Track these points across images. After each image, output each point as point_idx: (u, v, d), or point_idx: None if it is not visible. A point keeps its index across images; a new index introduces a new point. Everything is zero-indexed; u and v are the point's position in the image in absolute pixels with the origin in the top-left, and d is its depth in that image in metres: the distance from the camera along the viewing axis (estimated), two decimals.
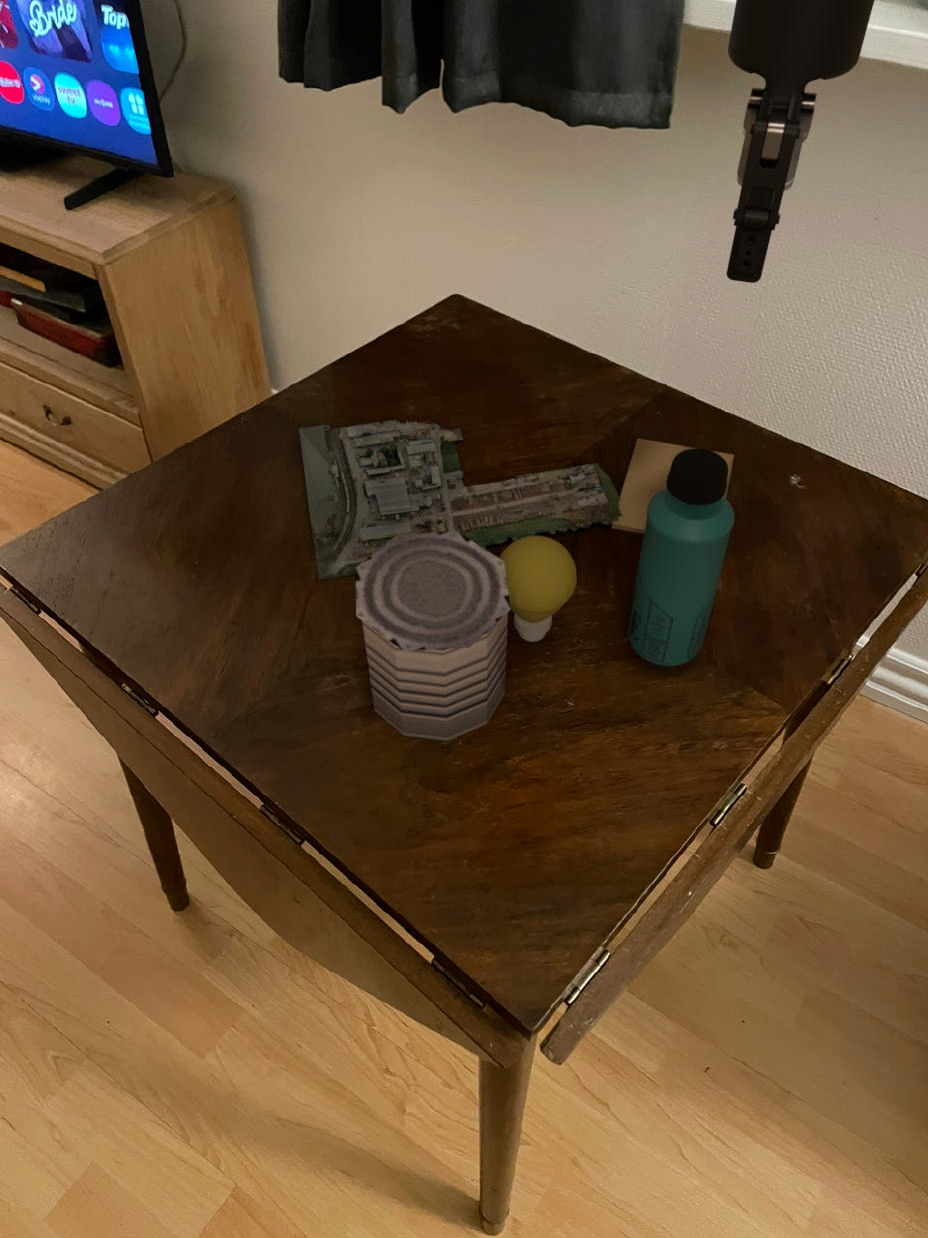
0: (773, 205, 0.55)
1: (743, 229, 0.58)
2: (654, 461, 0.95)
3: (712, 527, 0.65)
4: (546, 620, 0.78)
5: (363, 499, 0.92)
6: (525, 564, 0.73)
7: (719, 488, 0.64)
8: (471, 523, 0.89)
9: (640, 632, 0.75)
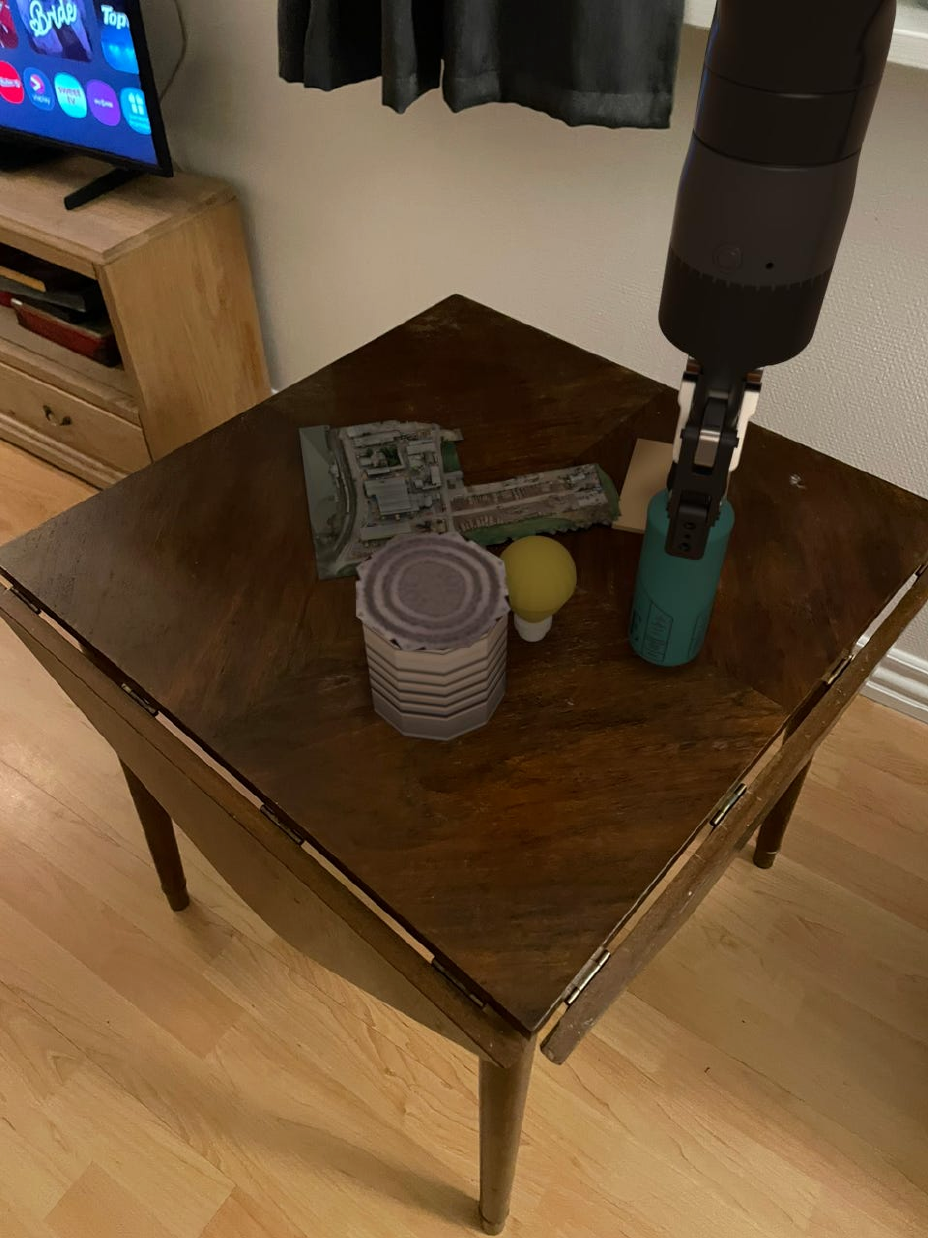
0: (711, 507, 0.46)
1: None
2: (654, 461, 0.95)
3: (712, 527, 0.65)
4: (546, 620, 0.78)
5: (363, 499, 0.92)
6: (525, 564, 0.73)
7: None
8: (471, 523, 0.89)
9: (640, 632, 0.75)
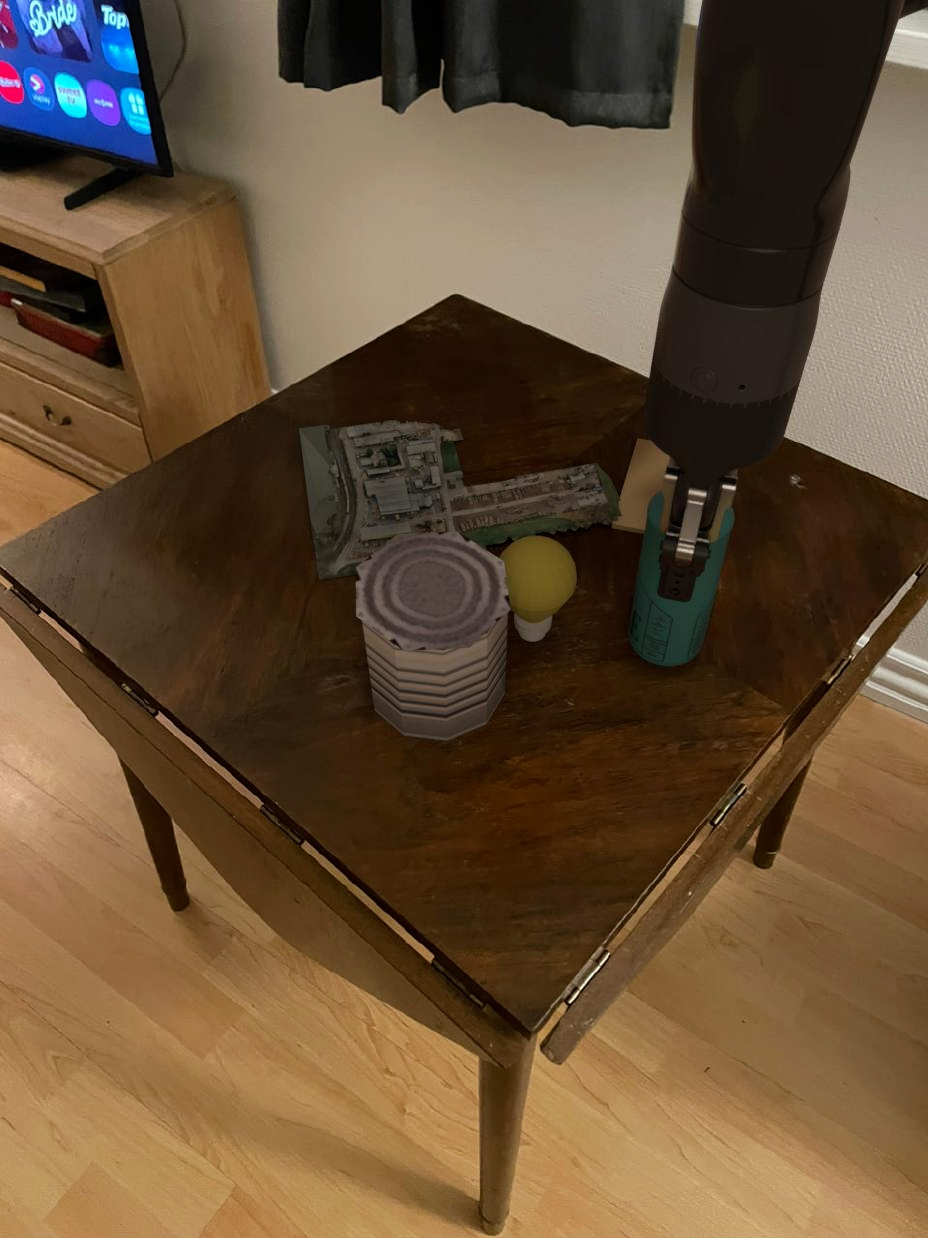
0: (694, 573, 0.53)
1: None
2: (654, 461, 0.95)
3: None
4: (546, 620, 0.78)
5: (363, 499, 0.92)
6: (525, 564, 0.73)
7: None
8: (471, 523, 0.89)
9: (640, 632, 0.75)
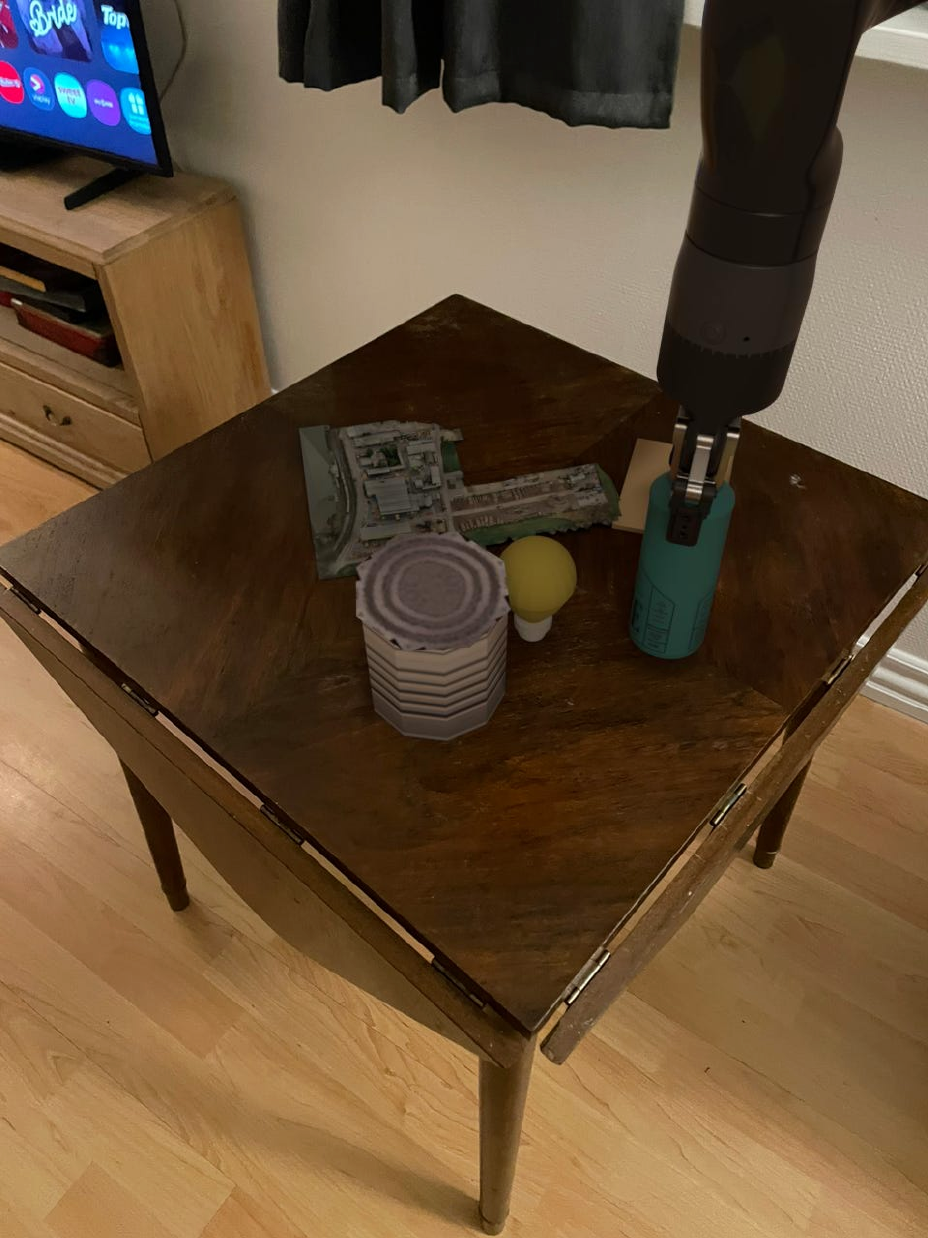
0: (701, 515, 0.59)
1: None
2: (654, 461, 0.95)
3: (714, 504, 0.66)
4: (546, 620, 0.78)
5: (363, 499, 0.92)
6: (525, 564, 0.73)
7: None
8: (471, 523, 0.89)
9: (642, 622, 0.74)
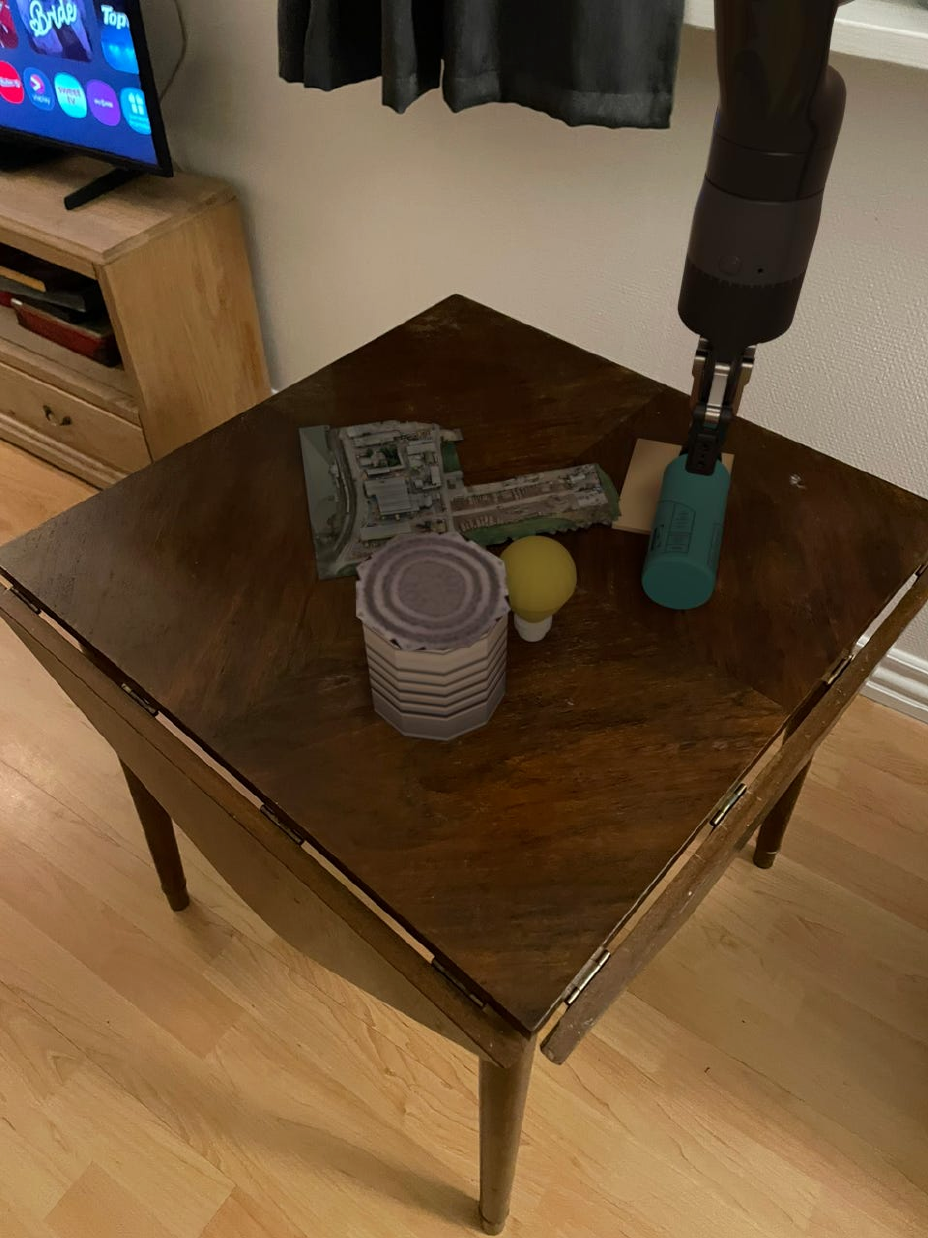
0: (718, 440, 0.65)
1: None
2: (654, 461, 0.95)
3: None
4: (546, 620, 0.78)
5: (363, 499, 0.92)
6: (525, 564, 0.73)
7: None
8: (471, 523, 0.89)
9: (663, 538, 0.80)
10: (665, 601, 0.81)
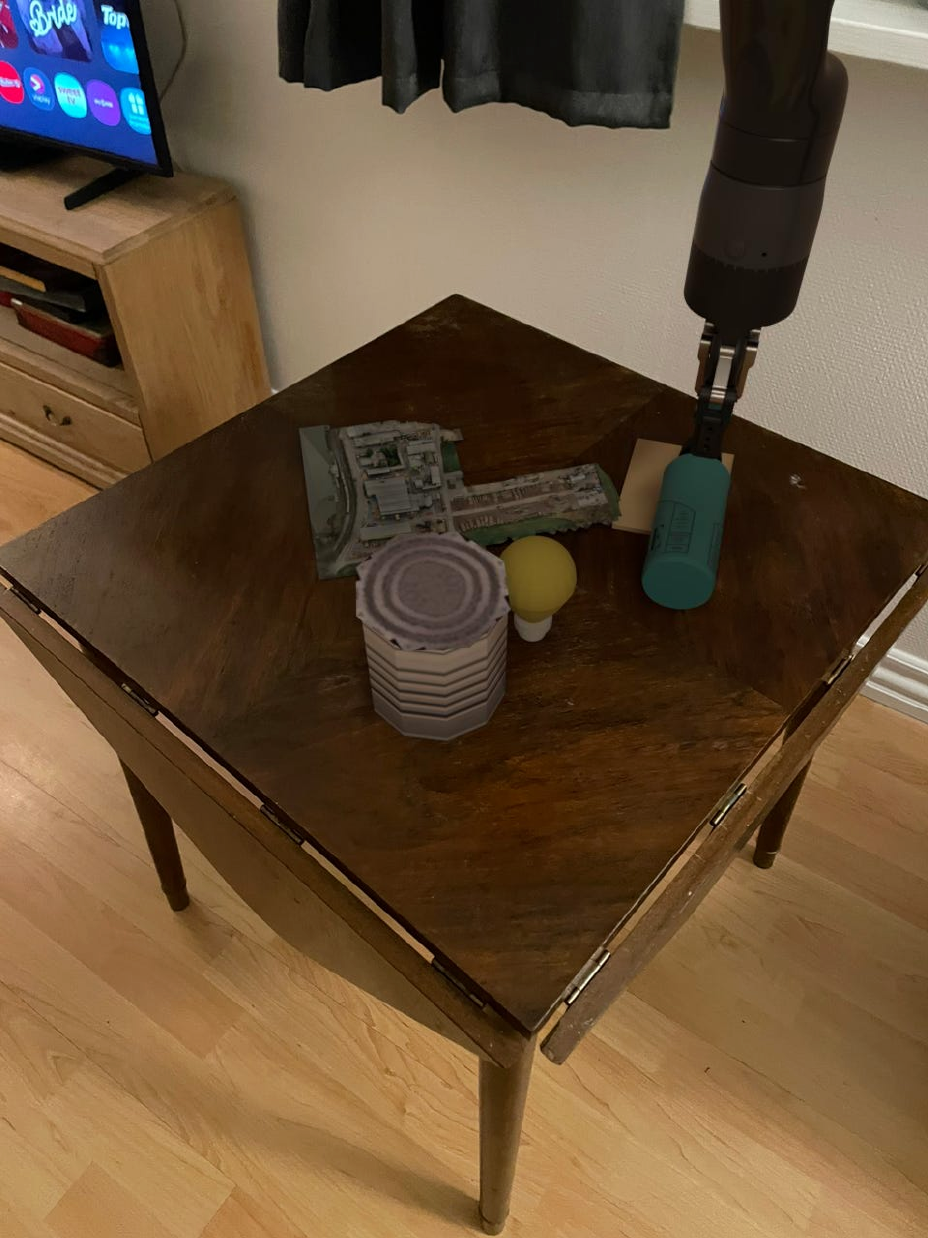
0: (723, 422, 0.66)
1: None
2: (654, 461, 0.95)
3: None
4: (546, 620, 0.78)
5: (363, 499, 0.92)
6: (525, 564, 0.73)
7: None
8: (471, 523, 0.89)
9: (663, 538, 0.80)
10: (665, 601, 0.81)
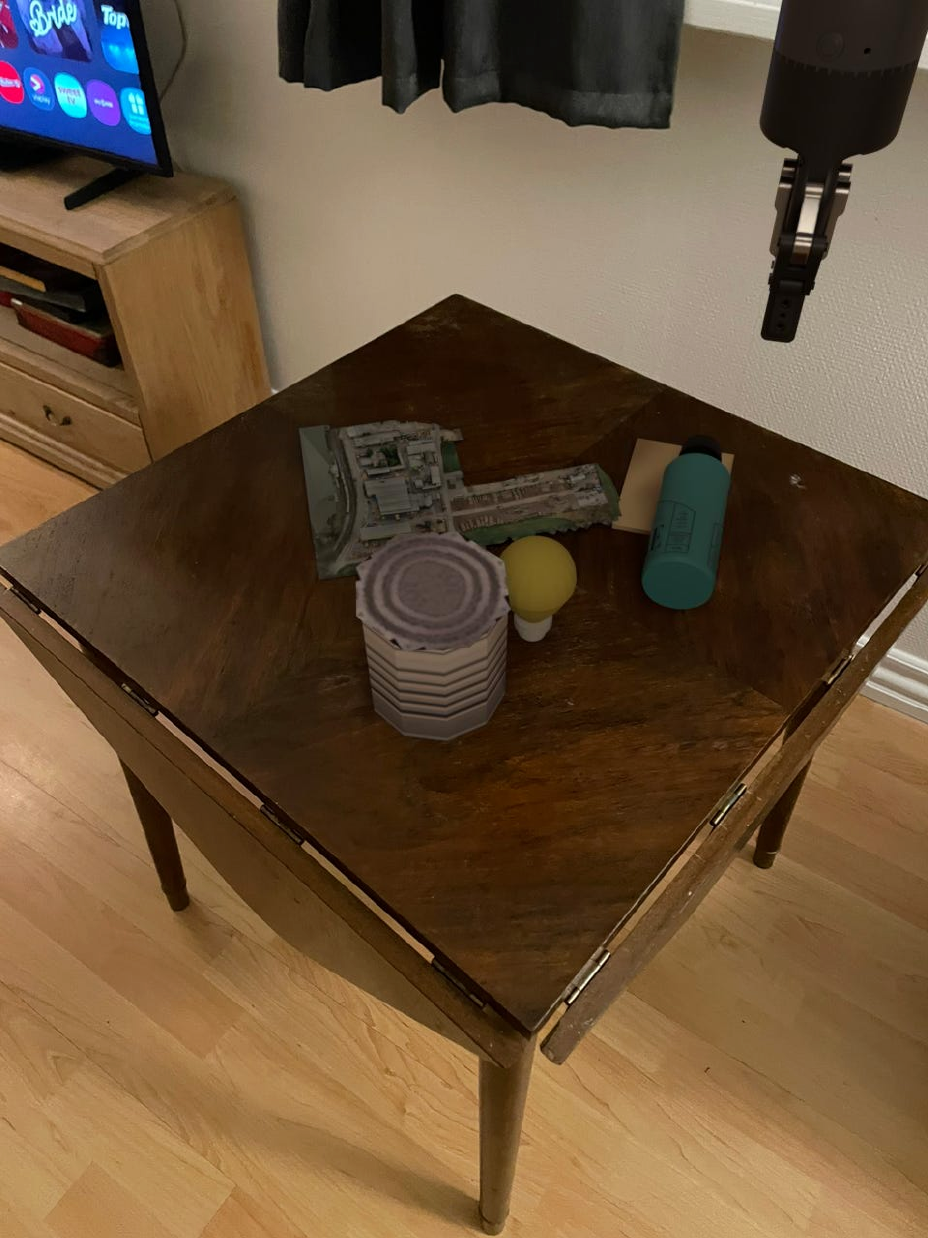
0: (805, 286, 0.55)
1: (777, 293, 0.58)
2: (654, 461, 0.95)
3: None
4: (546, 620, 0.78)
5: (363, 499, 0.92)
6: (525, 564, 0.73)
7: (719, 449, 0.89)
8: (471, 523, 0.89)
9: (663, 538, 0.80)
10: (665, 601, 0.81)
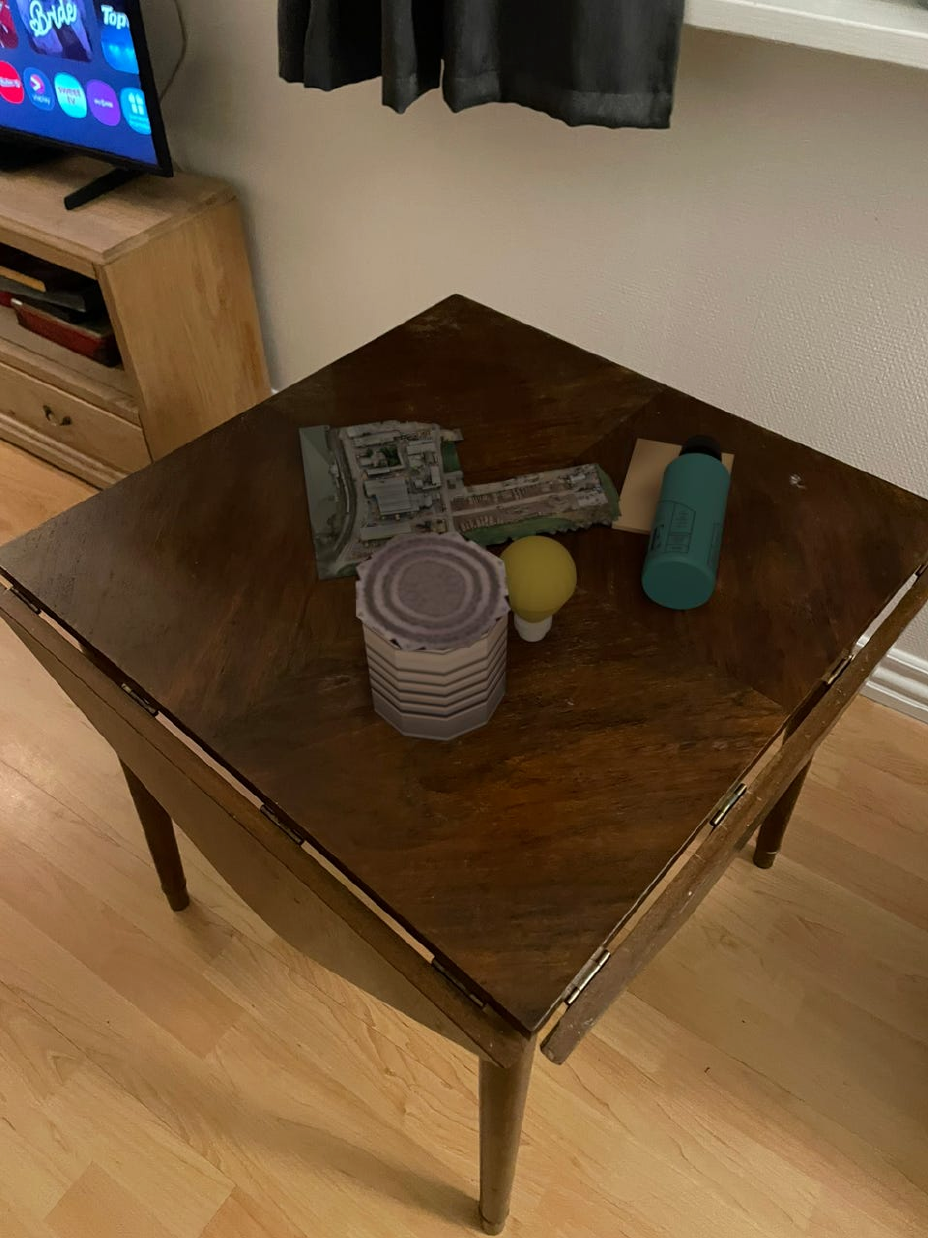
0: None
1: None
2: (654, 461, 0.95)
3: None
4: (546, 620, 0.78)
5: (363, 499, 0.92)
6: (525, 564, 0.73)
7: (719, 449, 0.89)
8: (471, 523, 0.89)
9: (663, 538, 0.80)
10: (665, 601, 0.81)
